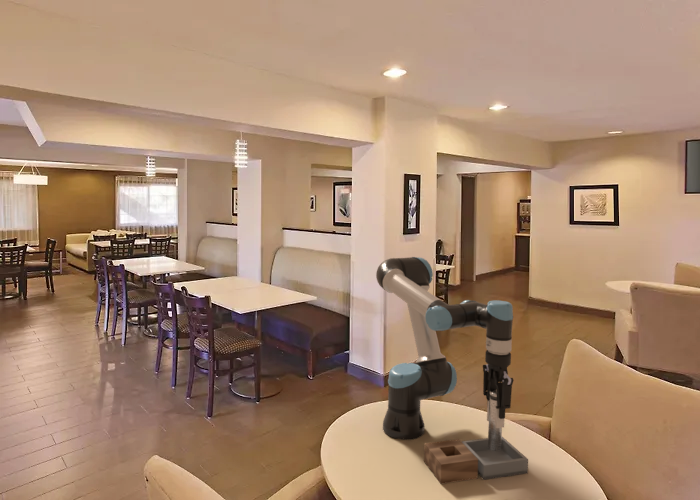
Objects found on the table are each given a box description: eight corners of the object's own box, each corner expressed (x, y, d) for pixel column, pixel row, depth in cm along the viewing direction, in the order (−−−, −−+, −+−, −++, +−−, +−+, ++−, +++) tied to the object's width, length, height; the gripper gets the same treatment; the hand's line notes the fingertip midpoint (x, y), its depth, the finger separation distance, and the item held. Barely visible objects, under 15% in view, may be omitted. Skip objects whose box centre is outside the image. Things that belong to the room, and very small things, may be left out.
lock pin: (485, 445, 141) (487, 390, 139) (496, 443, 142) (498, 389, 140) (492, 451, 137) (494, 395, 135) (503, 450, 138) (506, 394, 136)
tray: (460, 454, 145) (461, 441, 145) (501, 449, 149) (502, 436, 148) (483, 479, 132) (484, 465, 131) (527, 473, 135) (528, 459, 135)
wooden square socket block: (423, 461, 141) (424, 443, 140) (458, 456, 144) (458, 439, 143) (440, 483, 129) (441, 464, 129) (477, 478, 132) (478, 459, 132)
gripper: (473, 343, 144) (470, 412, 146) (503, 360, 128) (500, 438, 130) (493, 342, 146) (491, 410, 148) (526, 359, 129) (522, 435, 131)
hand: (495, 423), depth 139 cm, fingers closed on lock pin, 4 cm apart
